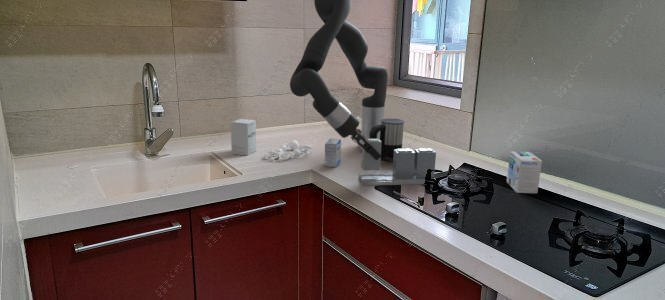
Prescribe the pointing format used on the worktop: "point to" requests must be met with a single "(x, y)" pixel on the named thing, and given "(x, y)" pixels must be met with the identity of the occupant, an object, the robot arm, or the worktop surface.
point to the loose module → (367, 159)
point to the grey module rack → (405, 168)
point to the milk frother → (389, 136)
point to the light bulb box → (524, 172)
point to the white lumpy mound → (281, 152)
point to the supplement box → (243, 136)
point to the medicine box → (332, 152)
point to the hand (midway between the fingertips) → (377, 156)
